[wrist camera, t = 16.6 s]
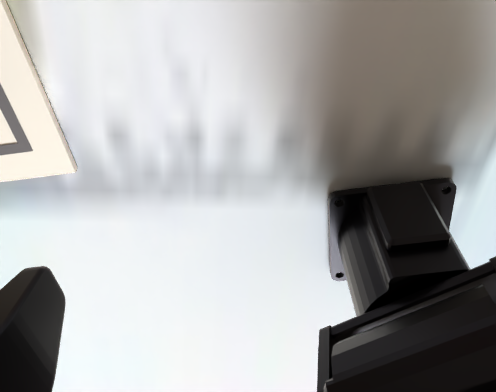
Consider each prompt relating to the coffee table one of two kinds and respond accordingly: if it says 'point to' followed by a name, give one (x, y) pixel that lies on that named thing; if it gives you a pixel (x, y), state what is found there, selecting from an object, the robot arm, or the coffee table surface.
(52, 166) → the card
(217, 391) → the coffee table surface
